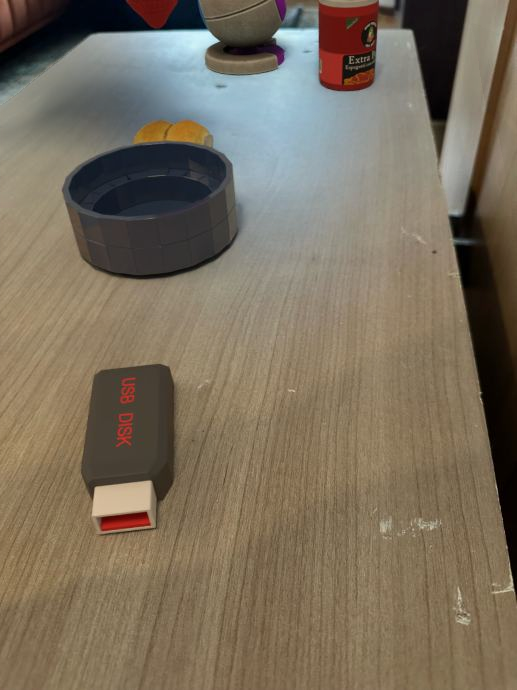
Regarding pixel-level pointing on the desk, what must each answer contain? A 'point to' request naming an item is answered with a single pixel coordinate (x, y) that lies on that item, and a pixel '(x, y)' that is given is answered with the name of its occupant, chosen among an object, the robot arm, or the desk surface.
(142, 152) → the bowl
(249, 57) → the webcam
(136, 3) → the strawberry
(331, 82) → the canned food
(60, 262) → the desk surface
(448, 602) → the desk surface
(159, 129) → the bread roll
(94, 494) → the usb drive
